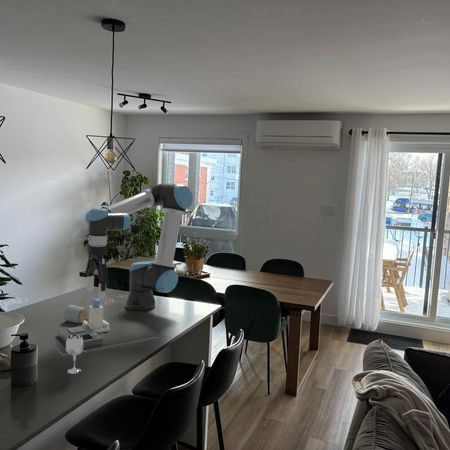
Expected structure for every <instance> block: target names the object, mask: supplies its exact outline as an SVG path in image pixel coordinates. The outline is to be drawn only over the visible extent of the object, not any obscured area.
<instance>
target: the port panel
mask: <svg viewBox="0 0 450 450" xmlns="http://www.w3.org/2000/svg"><path fill="white" fill-rule="evenodd" d="M70 335H81V336H82V338H83V344H84V347H83V349H86V348H90V347H97V346H102V345H104V338H103V336H101V335H100V334H98V333H96V332H95V331H93V330H92V329H91V328H89V327H88V326H87V325H85V326H83V325H79V326H74V327H73V326H72V327H67V328H66V327H65V328H60V329H57V336H58V337H59V338H60V339H61V340H62V341H63V343H65V344H66V341H67V338H68V336H70Z"/></svg>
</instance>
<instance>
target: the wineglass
mask: <svg viewBox="0 0 450 450" xmlns="http://www.w3.org/2000/svg"><path fill="white" fill-rule="evenodd" d="M83 347H84V344H83V338H82V336H81V335H70V336H68V338H67V341H66V343H65V351H66V353H67V354H68V355H69V356H72V361H73V367H72V368H69V369H67V373H68V374H70V375H71V374H72V375H73V374H74V375H75V374H79V373H81V372H82V369H81V368H78V367H76V360H77V356H78V355H80V354H82V352H83V351H84V348H83Z"/></svg>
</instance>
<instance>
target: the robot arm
mask: <svg viewBox="0 0 450 450" xmlns="http://www.w3.org/2000/svg"><path fill="white" fill-rule="evenodd" d="M192 203H193V192H192V191H191V188H189V187H188V186H187V185H184V184H180V183H159V184H156V185H153V186H150V187H147V188H145V189H142V190H141V192H140V193H137V194H135V195H133V196H130V197H128V198H125V199H122V200H121V201H118V202H115V203H113V204H110V205H108V206H105V207H103V208H91V209H90V210H89V211H87V212H86V214H85V217H84V218H85V223H86V224H87V225H88V237H87V240H88V246H87V248H88V249H87V250H88V251H87V254H88V259H87V262H86V268H85V272H84V273H85V274H86V279H87V280H86V292H94V288H95V286H94V285H95V284H94V282H95V271H97V275H98V279H99V282H98V299H100V300H101V299H106V295H107V293H106V292H107V283H109V282H110V281H109V280H110V279H109V273H108V266H107V258H103V257H104V256H106V255H107V249H108V248H107V247H108V246H107V245H108V232H109V231H124V230H128V229H129V228H130V227H131V223H132V222H131V216H130V215H131V214H134V213H137V212H138V211H139V212H140V211H141V210H143V209H146V208H153V207H157V206H158V207H162V210H163V212H164V214H163V220H162V224H161V225H162V226H161V229H160V230H161V231H160V236H159V241H158V247H157V251H156V252H157V253H156V257H155V260H154V261H137V262H132V264H130V267H129V269H130V270H129V290H128V291H129V292H128V295H127V298H126V301H125V308H127V309H129V310H133V311H148V310H152V309H154V308H156V300H155V296H154V294H153V293H154V292H153V291H155V292H158V293H165V294H167V293H170V292H172V291H173V290H174V289H175V288H176V286H177V284H178V281H179V275H178V272H177V271H176V270H175V269H176V265H175V264H174V259H175V254H176V248H177V244H178V243H177V242H178V236H179V234H180V233H179V231H180V226H181V221H182V216H183V215H184V214H186V210H187V209H189V208H190V207H191V206H192V205H193V204H192Z"/></svg>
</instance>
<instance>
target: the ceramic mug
mask: <svg viewBox="0 0 450 450" xmlns="http://www.w3.org/2000/svg"><path fill="white" fill-rule="evenodd" d="M63 316H64V317H63V318H64V320H65V322H69V323H75V324H83V321H87V320H89V311H88V309H87V308H85V307H82V306H78V305H76V304H69V305H68V306H66V308H65V310H64V314H63Z"/></svg>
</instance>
